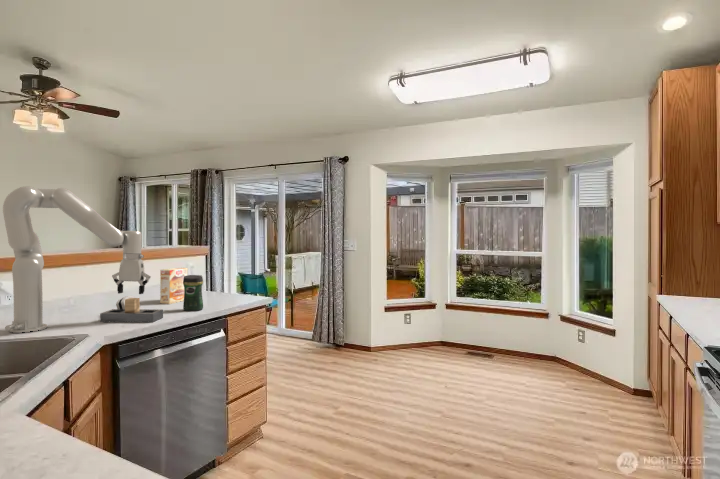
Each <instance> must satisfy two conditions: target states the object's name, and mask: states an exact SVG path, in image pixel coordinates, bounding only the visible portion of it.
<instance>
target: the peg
mask: <svg viewBox="0 0 720 479" xmlns="http://www.w3.org/2000/svg"><path fill="white" fill-rule="evenodd" d="M140 300H141V298H140V297H135V298H128V299H125V313H136V312H139V311H140V307H141V306H140V305H141V304H140V303H141V302H140Z"/></svg>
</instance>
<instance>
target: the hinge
mask: <svg viewBox="0 0 720 479" xmlns="http://www.w3.org/2000/svg"><path fill="white" fill-rule="evenodd" d="M128 298H136V297H135V296H133V295H126V296H124V297H121V298H119V299H118V300H117V302H116V303H115V306H116V309H125V299H128ZM140 309H143V307H142V306H140Z"/></svg>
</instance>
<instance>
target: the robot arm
mask: <svg viewBox="0 0 720 479" xmlns="http://www.w3.org/2000/svg"><path fill="white" fill-rule="evenodd" d="M30 208H32V209H34V208H37V209H40V208H41V209H59V210H61V212H64V214H66V215H67V216H68V217H70V218H71V219H73V220H74V221H75V222H76V223H77V224H78V225H80V226H82V227H83V228H85V229H87V230H88V231H89V232H91V233H93V235H94V236H97V237H98V238H99V239H100V240H101V241H103V242H104V243H105V244H106V245H108V246H110V247H120V246H123V247H122V248H123V249H122V259H121V261H120V263H119V268H118V272H116V273H114V274H112V276H111V277H112V279H113V282H115V284H116V285H117V290H116V291H117V294H118V295H119V294H122V293H124V284H123V283H124V282H138V284H139V286H138V294H139V295H144V293H145V289H146V288H145V286H146V285H147V284H148V283H149V281H150V280H151V277H152V276H151V275H149V274H147V273H146V272H145V265H144V260H143V259H144V257H145V256H144V254H142V245H143V244H142V240H143V234H142V232H141V231H140V230H120V229H118V228H116V227H115V226H114V225H113V224H111V223H110V222H109V221H107V219H105V218H104V217H102V216H101V214H100V213H98V212H97V211H96V210H95V209H94V208H93V207H92V206H90V205H89V204H88V203H86V202H85V201H84V200H82V199H81V198H80V197H79V196H77V195H76V194H75V193H74V192H72V191H71V190H70V189H67V188H65V187H58V188H56V189H55V188H54V189H53V188H52V189H51V188H36V187H34V186H30V185H26V186H19V187H17V188H16V189H13V190H12V191H11V192H10V193H9V194H8V195H7V196H6V197H5V199H4V201H3V204H2V213H3V219H4V225H5V229H6V235H7V241H8V245H9V247H10V248H11V249H12V250H13V254H14V258H15V260H14V262H13V263H12V267H11V273H12V274H11V275H12V284H13V290H12V291H13V292H12V293H13V320H12V321H11V324H8V325H5V327H4V329H5V331H8V332H9V333H12V332H13V334H19V333H20V334H23V333H22V332H25V333H31V332H30V331H33V332H38V330H39V331H42V330H45V329H47V328H48V324H46V323H43V322H44V321H43V318H44V317H43V313H44V312H43V272H42V271H43V268H44V266H45V260H44V257H43V256H44V255H43V251H42V247H41V242H40V238H39V236H38V234H37V233H36V232H35V231H34V229H33V224H32V218H31V214H30Z"/></svg>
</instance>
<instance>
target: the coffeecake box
mask: <svg viewBox="0 0 720 479" xmlns="http://www.w3.org/2000/svg"><path fill="white" fill-rule="evenodd" d="M159 270H160V278H159V279H160V280H159V281H160V285H159V286H160V287H159V288H160V289H159V291H160V292H159V293H160V294H159V296H160V297H159V301H160V304H166V305H172V304H176V302H177V303H180V301H181V302H184V285H183V279H184V276H187V275H189V274H188V270H189V268H188V267H174V268H165V269H164V268H163V269H159Z"/></svg>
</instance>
